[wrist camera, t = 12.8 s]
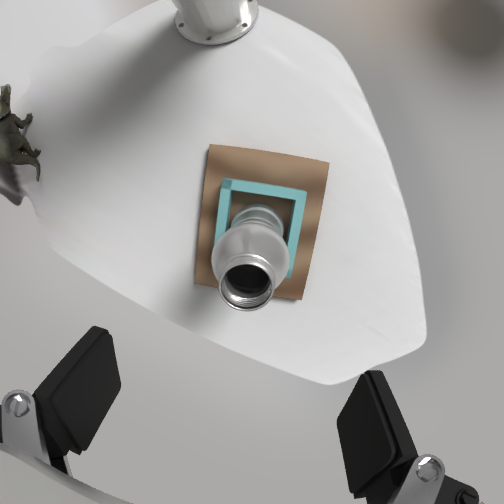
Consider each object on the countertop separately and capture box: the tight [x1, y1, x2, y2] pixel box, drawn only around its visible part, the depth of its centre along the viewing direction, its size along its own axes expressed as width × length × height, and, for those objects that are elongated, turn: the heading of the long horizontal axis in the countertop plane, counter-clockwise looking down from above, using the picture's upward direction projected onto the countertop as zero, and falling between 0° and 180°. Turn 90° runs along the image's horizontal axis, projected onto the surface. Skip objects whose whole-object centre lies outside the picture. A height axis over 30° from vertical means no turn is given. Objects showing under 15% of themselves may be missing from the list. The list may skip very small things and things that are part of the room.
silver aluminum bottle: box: [211, 204, 290, 311], centre depth 27 cm, size 6×7×20 cm
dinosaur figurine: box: [0, 84, 41, 181], centre depth 30 cm, size 22×8×11 cm, turn 23°
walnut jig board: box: [195, 144, 329, 300], centre depth 36 cm, size 20×16×4 cm
